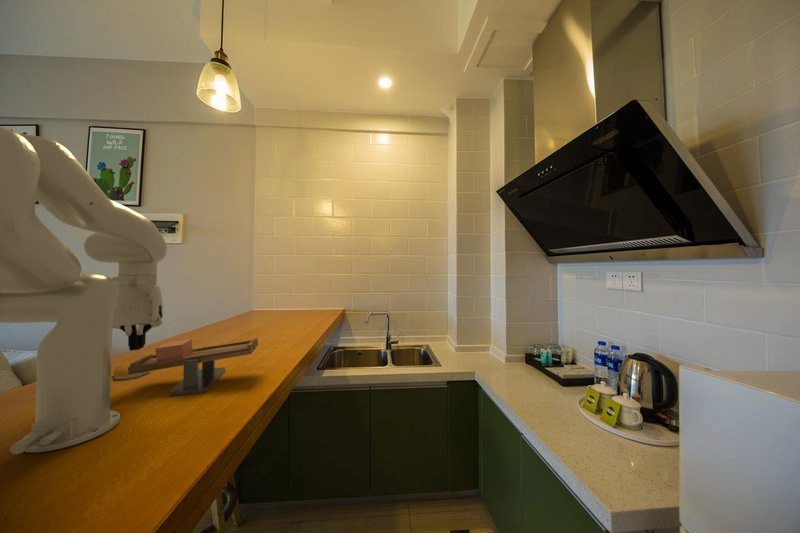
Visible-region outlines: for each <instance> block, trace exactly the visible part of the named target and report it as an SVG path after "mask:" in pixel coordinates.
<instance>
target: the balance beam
mask: <svg viewBox="0 0 800 533" xmlns="http://www.w3.org/2000/svg"><path fill="white" fill-rule="evenodd" d="M258 346H259V340H258V338H257V337H256V338H255V337H254V338H251V339H250V340H249V339H248V340H242V341H237V342H236V341H235V342H231V343H224V344H217V345H211V346H210V345H209V346H203V347H197V348H193V353H192V354H190V355H189V356H187V357H185V358H179V359H173V360H166V361H160V362H157V360H156V354H153V353H150V354H147V355H144V356H143V357H141V358H139V359H137V361H135V362H133V363H131V364H130V367H128V373H129V374H135V373H141V372H147V371H150V372H153V371H159V370H163V369H170V368H176V367H181V366H182V367H184V361H185V360H192V359H199V364H201V363H202V362H207V361H213V360H215V361H217V360H223V359H230V358H231V359H232V358H236V357H242V356H248V355H252V354H253V352H254V351H255V350H256V348H257V347H258Z"/></svg>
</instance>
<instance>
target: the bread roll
mask: <svg viewBox="0 0 800 533" xmlns="http://www.w3.org/2000/svg"><path fill="white" fill-rule="evenodd" d="M137 360H138V359H137ZM137 360H128V361H126V362H123V363H121V364H120V365H118V366H116V367H115V368H114V369H113V372H112V376H113V378H114V379H115V380H117V381H119V380H121V381H122V380H131V379H137V378H140V377H143V376H144V375H145V376H146V375H147V374H149V373H150V372H151V371H147V372H141V373H135V374H129V373H128V367H130V364H131V363H133V362H135V361H137Z"/></svg>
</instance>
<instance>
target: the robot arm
mask: <svg viewBox="0 0 800 533" xmlns="http://www.w3.org/2000/svg"><path fill="white" fill-rule="evenodd" d="M36 201H37V202H38V204H40V205H41V206H42V207H44V208H45V210H47V211H48V212H49V213H50V214H51V215H52V216H53V217H54V218H56V219H57V220H58V221H60V222H62V223H63V224H66V225H69V226H71V227H75V228H78V229H82V230H87V231H91V232H93V233H92V234H90V235H89V236H87V238H85V240H84V242H83V243H84V244H83V248H84V252H85V254H86V255H87V256H88V257H89V258H91V259H93V260H94V261H97V262H100V263H111V264H113V263H114V264H117V263H118V272H117V273H118V275H117V276H116V277H115V276H114V277H110V276H108V275H106V274H105V275H104V274H101V273H97V272H84V271H83V272H82V265H81V262H80V261H79V259H78V257H77V256H76V255H75V254H74V253H73V252H72V251H71V250H70V248H68V246H66V245H65V244H64V242H63V241H61V239H59V238H58V237H57V236H56V235H55V234H54V233H53V232H52V231H51V230H50V229H49V228H48V227H47V226H46V225H45V224H44V223H43V221H41V220H40V218H39V217H38V216H37V213H36V209H35V208H36ZM167 251H168V248H167V242H166V240H165V238H164V236H163V234H162V233H161V232H160V230H159V229H158V226H156V225H155V223H154V222H152V220H150V219H148V218H147V217H146V216H144V215H142V214H141V213H138V212H137V211H135V210H132V209H131V208H129V207H127V206H125V205H123V204H120V203H118V202H117V201H114V200H112V199H110V198H108V196H107V195H106V193H104V191H103V190H102V189H101V188H100V187H99V185H98V184H97V183H96V181H94V179H93V178H92V177H91V176H90V174H89V173H88V171H87V170H86V169H85V168H84V167H83V166H82V164H81V163H80V162H79V161H78V159H77V158H76V157H75V155H74V154H73V153H72V152H71V151H70V150H68V148H66V146H64V145H62V144H61V143H59V142H57V141H55V140H52V139H49V138H47V137H46V138H45V137H43V136H38V135H32V134H26V133H19V132H15V131H13V130H12V129H9V128H7V127H4V126H3V127H2V126H0V323H4V324H23V323H24V324H25V323H27V324H28V323H47V322H48V323H56V324H55V326H54V327H53V328H52V329H51V330H50V331H49V332H48V333H47V334H46V335H45V336H44V337H43V339H42V340H41V341H40V343H39V345H38V347H37V351H36V379H35V380H36V384H35V385H36V387H35V416H34V418H35V420H34V422H35V423H33V424H31V431H30V432H29V433H28V434H26V435H24V437H23V438H22V439H20V440H19V441H17V442H15V443H14V444H12V445H11V446H10V448H9V452H10V453H11V454H13V455H20V454H22V453H24V452H25V453H36V454H37V453H45V452H50V451H51V452H53V451H55V450H62V449H64V448H69V447H73V446H75V445H78V444H81V443H83V442H87V441H90V440H92V439H94V438H96V437H99V436H101V435H103V434H105V433H107V432H108V431H111V430H112V429H113V428H114V427H115V426H117V425H118V424H119V423H120V421H121V414H120V412H119V411H117V410H111V390H112V388H111V386H112V385H111V384H112V379H111V378H112V354H113V353H112V350H113V349H112V348H113V345H112V344H113V331H114V330H113V329H116V330H121V331H122V332H123V333H125V335H126V336H127V337H128V338H127V339H128V341H127V345H128V347H129V348H128V349H129V351H139V350H141V349H143V348H144V347H145V345H146V337H147V336H146V334H147V333H148V332H149V331H150V330H151V329H152V328H158V327H160V326H162V325H163V321H162V319H163V316H164V315H163V314H164V313H163V312H164V309H163V308H164V306H163V297H162V292H161V288H160V285H158V284H157V282H158V280H157V279H158V278H157V277H158V276H157V275H158V263H159V262H161V261H163V259H165V257H166V254H167V253H168V252H167Z"/></svg>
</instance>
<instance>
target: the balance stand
mask: <svg viewBox="0 0 800 533" xmlns="http://www.w3.org/2000/svg"><path fill="white" fill-rule="evenodd" d="M215 362H216V360H213V361H207V362H201V363H202V365H201V368H200V369H199V364H200V363H199V359H192V360H185V361H184V365H183V372H182V373H183V375H182V376H183V378H182V379H183V380H181V382H178V384H176V385H175V387H173V388H172V389H171V390H170V391H169V392H168V397H170V398H171V397H179V396H180V397H181V396H189V395H190V396H191V395H198V394H206V393H207V392H208V391H209V390H210V389H211V388H212V386H213V385H214V384H215V383H216V382H217V381H218V380H219V379H220V378H221V377H222V375H223V374H224V373H225V371H226V367H225V366H224V367H216V365H215V364H216V363H215Z"/></svg>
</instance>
